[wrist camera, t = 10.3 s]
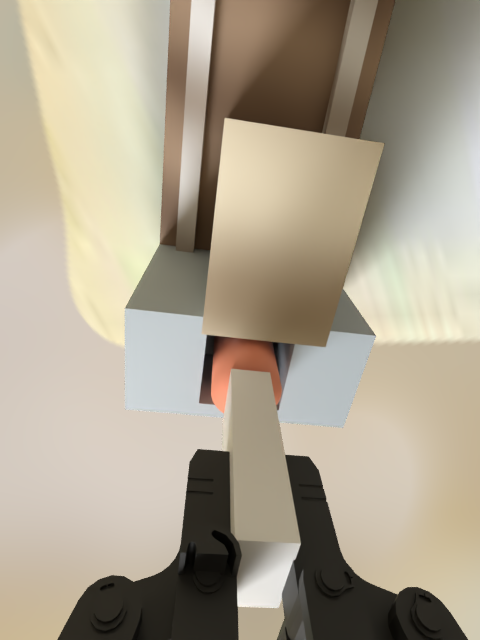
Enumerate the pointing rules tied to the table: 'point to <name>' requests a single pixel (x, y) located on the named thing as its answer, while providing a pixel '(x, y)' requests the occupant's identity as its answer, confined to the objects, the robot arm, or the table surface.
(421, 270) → the table surface
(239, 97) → the rail bed
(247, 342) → the button
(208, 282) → the carriage
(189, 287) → the cabinet
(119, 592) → the robot arm
